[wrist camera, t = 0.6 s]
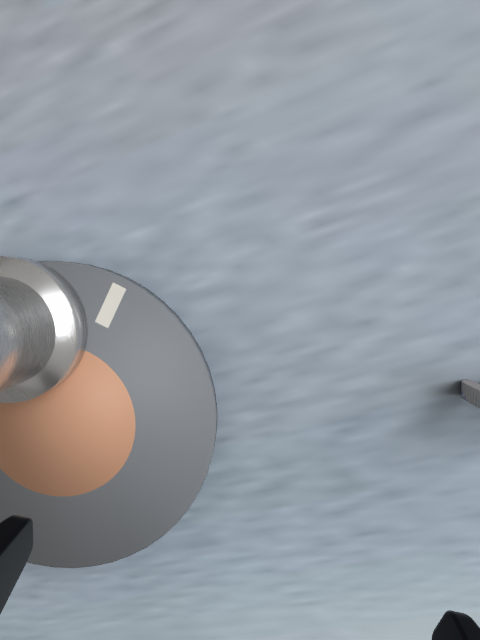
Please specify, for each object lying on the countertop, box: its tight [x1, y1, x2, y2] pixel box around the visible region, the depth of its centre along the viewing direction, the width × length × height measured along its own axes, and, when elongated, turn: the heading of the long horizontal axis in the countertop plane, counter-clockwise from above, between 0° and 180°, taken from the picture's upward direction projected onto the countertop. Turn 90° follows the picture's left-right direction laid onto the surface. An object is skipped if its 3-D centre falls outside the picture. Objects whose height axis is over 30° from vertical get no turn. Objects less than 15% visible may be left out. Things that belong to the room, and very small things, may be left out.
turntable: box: [0, 261, 217, 568], centre depth 22 cm, size 18×18×1 cm
